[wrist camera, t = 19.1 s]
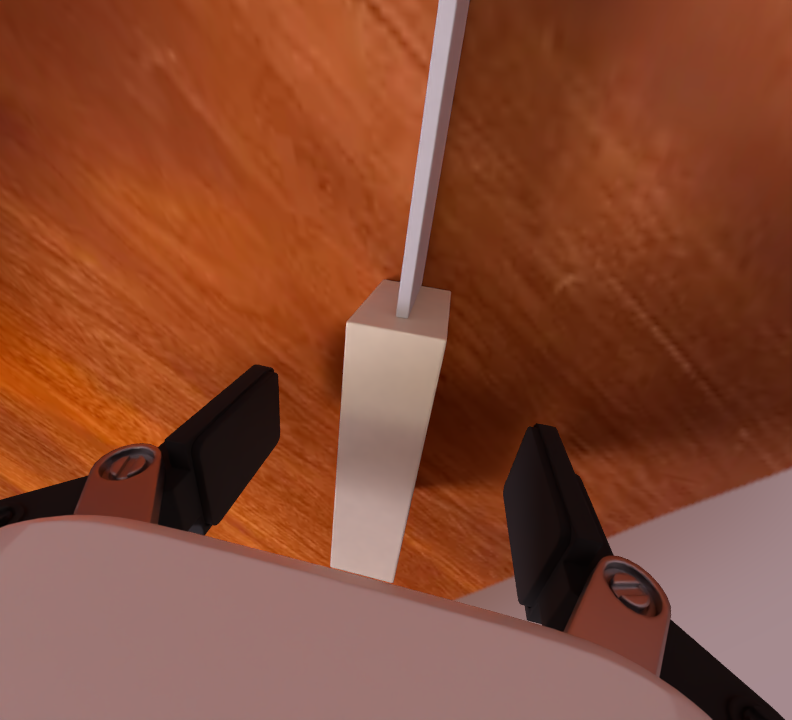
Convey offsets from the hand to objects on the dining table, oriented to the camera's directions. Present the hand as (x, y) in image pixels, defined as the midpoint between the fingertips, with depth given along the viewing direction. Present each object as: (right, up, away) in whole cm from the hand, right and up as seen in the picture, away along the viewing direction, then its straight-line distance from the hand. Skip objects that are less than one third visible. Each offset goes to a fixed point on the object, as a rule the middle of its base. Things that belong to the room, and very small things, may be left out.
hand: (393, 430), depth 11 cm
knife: (+1, +5, -1) cm, 5 cm away
